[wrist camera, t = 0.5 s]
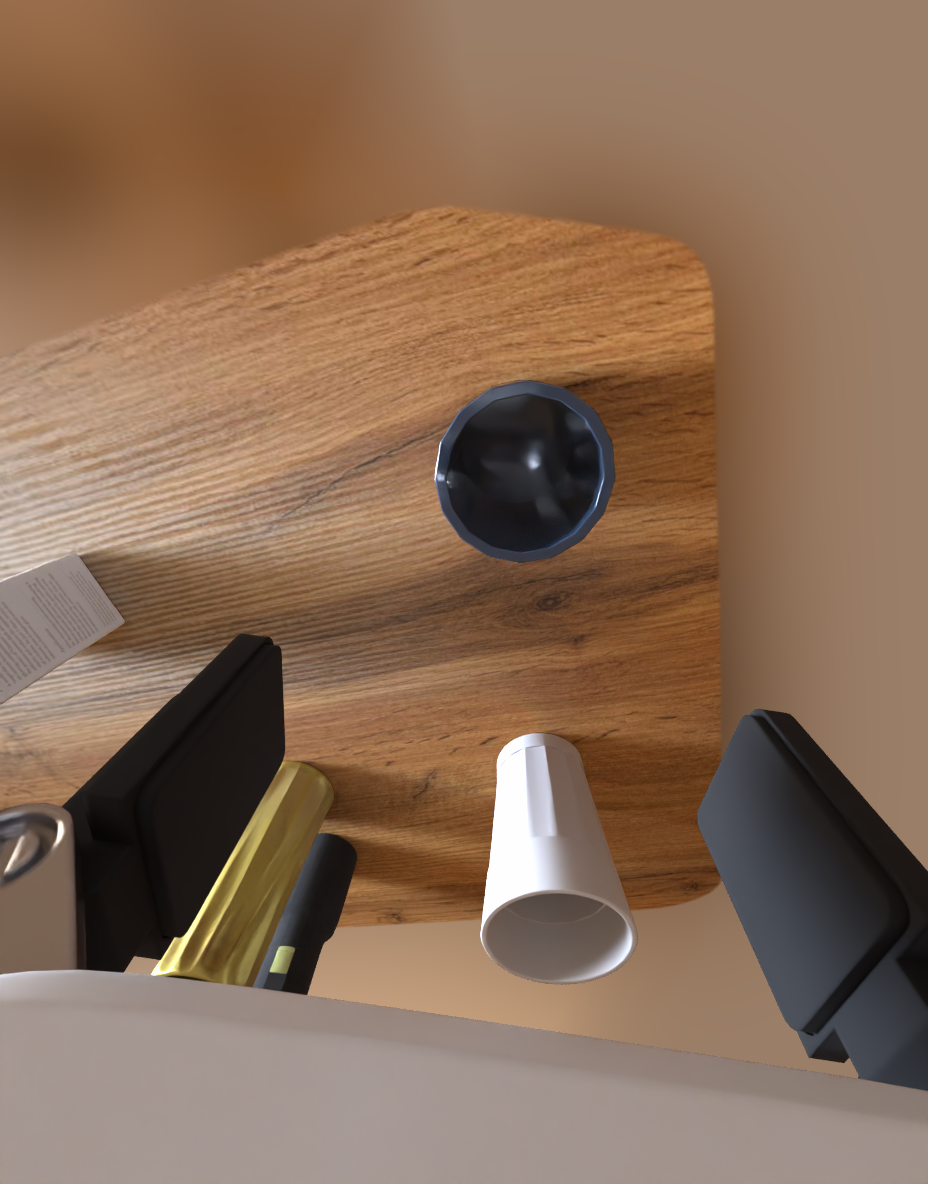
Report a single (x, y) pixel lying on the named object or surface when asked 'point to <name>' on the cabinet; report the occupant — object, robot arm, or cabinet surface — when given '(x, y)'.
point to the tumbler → (525, 471)
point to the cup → (552, 871)
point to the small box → (49, 620)
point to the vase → (254, 883)
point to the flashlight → (309, 916)
